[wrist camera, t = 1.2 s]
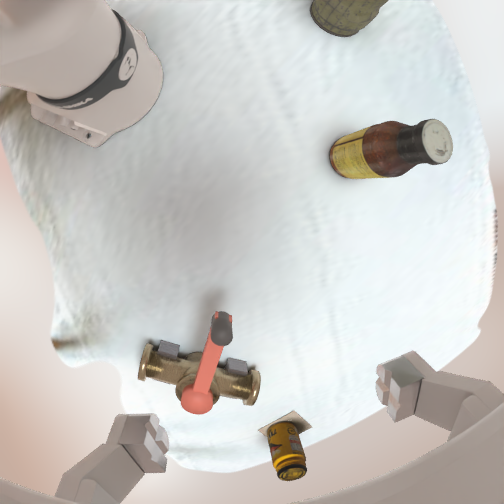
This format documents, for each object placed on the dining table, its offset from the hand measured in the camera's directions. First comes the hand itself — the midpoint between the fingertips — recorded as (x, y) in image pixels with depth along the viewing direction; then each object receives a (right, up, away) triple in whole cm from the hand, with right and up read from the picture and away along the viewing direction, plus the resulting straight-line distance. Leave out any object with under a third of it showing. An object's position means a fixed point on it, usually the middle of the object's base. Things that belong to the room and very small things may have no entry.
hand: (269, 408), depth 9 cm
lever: (-7, -9, +27) cm, 29 cm away
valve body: (-9, -13, +35) cm, 39 cm away
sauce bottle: (+13, +19, +30) cm, 38 cm away
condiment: (+6, -30, +41) cm, 51 cm away
